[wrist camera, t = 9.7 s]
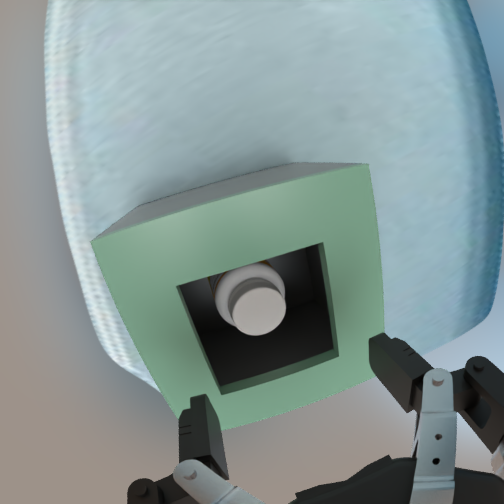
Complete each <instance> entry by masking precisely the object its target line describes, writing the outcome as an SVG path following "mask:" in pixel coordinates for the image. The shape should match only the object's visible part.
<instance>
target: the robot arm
mask: <svg viewBox="0 0 504 504" xmlns="http://www.w3.org/2000/svg"><path fill="white" fill-rule="evenodd" d="M368 343H369V364H370V367H371V369H372V371H373V373H374V374H375V375H376V376H377V377H378V379H379V380H380V381H381V382H382V384H383V385H384V386H385V387H386V388H387V390H388V391H389V392H390V393H391V394H392V396H393V397H394V398H395V399H396V401H398V403H399V404H400V405H401V407H402V408H403V409H404V410H405V411H406V413H408V412H410V411H412V410H415V411H416V412H417V415H416V422H415V431H414V438H413V445H412V450H411V455H410V457H404V458H396V459H391V457H390V456H389V455H387V456H385V457H383V458H381V459H379V460H377V461H375V462H373V463H371V464H369V465H367V466H366V467H364V468H363V469H362V470H360V471H359V472H357V473H356V474H355V475H353V476H352V477H351V478H349V479H348V480H345V481H341V482H336V483H330V484H324V485H318V486H315V487H313V488H310V489H307V490H304V491H301V492H298V493H295V495H296V497H297V499H295V500H293V501H292V502H290V503H289V504H504V373H503V372H502V371H501V370H499V369H498V368H497V367H496V366H495V365H494V364H493V363H491V361H489V360H488V359H487V358H485V357H482V356H475V357H472V358H470V359H469V360H468V361H467V363H466V366H465V368H463V369H459V370H457V371H453V372H448V371H447V370H445V369H441V368H436V369H434V368H433V367H432V366H431V365H430V364H429V363H428V362H426V360H424V359H423V358H422V357H421V356H420V355H419V354H418V353H416V352H415V350H414V349H412V348H411V347H410V346H409V345H408V344H407V343H406V342H405V341H403V340H400V339H398V338H393V339H390V338H389V337H388V336H387V335H386V334H385V333H383V332H382V333H380V334H378V335H375V336H373V337H371V338H369V341H368ZM457 412H458V413H459V414H460V415H461V416H462V417H463V419H465V421H466V422H467V423H468V425H469V426H470V427H471V428H472V429H473V431H474V432H475V433H476V434H477V435H478V437H479V438H480V439H481V440H482V442H483V443H484V444H485V445H486V447H487V448H488V449H489V450H490V452H491V453H492V454H493V455H492V458H491V465H492V467H493V471H494V472H495V474H492V473H486V472H480V471H473V470H468V469H462V468H457V467H455V456H456V455H455V454H456V434H457V414H456V413H457ZM225 480H229V475H228V470H227V463H226V458H225V452H224V446H223V439H222V433H221V426H220V422H219V418H218V416H217V413H216V411H215V410H214V408H213V406H212V404H211V402H210V400H209V398H208V396H207V394H201V395H197V396H193V397H190V408H189V409H184V410H182V413H181V415H180V417H179V464H178V465H177V466H176V467H175V469H174V471H173V473H172V474H171V475H170V476H168V477H165V478H163V479H161V480H158V481H156V482H153V481H152V480H150V479H146V478H143V479H138V480H136V481H134V482H133V483H132V484H131V485H130V486H129V488H128V492H127V497H128V499H127V504H265V503H263V502H262V501H260V500H259V499H257V498H255V497H254V496H252V495H251V494H249V493H247V492H246V491H244V490H243V489H241V488H239V487H237V486H236V487H235V486H233V485H231V484H230V483H228V482H227V481H225Z"/></svg>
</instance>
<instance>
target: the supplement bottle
mask: <svg viewBox="0 0 504 504" xmlns="http://www.w3.org/2000/svg"><path fill="white" fill-rule="evenodd" d="M207 278H208V282H209V285H210V288H211V291H212V294H213V298H214V301H215V304H216V307H217V310H218V312H219V314H220V315H221V316H222V318H223V319H224V320H225V321H227V322H228V323H230V324H232V325H234V326H236V327H237V328H238V329H239V330H240V331H241V332H243V333H245V334H248V335H262V334H266V333H268V332H270V331H272V330H273V329H275V328H276V327H277V326H278V325H279V324H280V323H281V321H282V320H283V318H284V316H285V312H286V303H285V300H284V298H285V287H284V283H283V280H282V278H281V277H280V275H279V274H278V273H277V271H276V270H275V269H274V268H273V267H272V266H271V265H270V263H269V262H268V261H267V260H266V259H265V260H262V261H259V262H255V263H252V264H249V265H245V266H242V267H239V268H235V269H232V270H229V271H225V272H222V273H219V274H215V275H212V276H208V277H207Z"/></svg>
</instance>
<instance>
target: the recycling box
mask: <svg viewBox="0 0 504 504" xmlns="http://www.w3.org/2000/svg"><path fill="white" fill-rule="evenodd" d="M91 245H92V248H93V250H94V253H95V256H96V258H97V261H98V264H99V266H100V269H101V271H102V274H103V276H104V279H105V281H106V284H107V286H108V288H109V291H110V293H111V295H112V298H113V300H114V302H115V304H116V307H117V309H118V311H119V313H120V315H121V317H122V320H123V322H124V324H125V326H126V328H127V330H128V332H129V334H130V336H131V338H132V340H133V342H134V344H135V346H136V348H137V350H138V352H139V354H140V356H141V358H142V359H143V361H144V363H145V365H146V367H147V369H148V370H149V372H150V374H151V376H152V378H153V379H154V381H155V383H156V385H157V386H158V388H159V390H160V391H161V393H162V395H163V396H164V398H165V400H166V401H167V403H168V405H169V406H170V408H171V409H172V411H173V413H174V414H175V416H176V417H177V419H178V420H179V417H180V415H181V413H182V410H184V409H189V408H190V397H193V396H197V395H201V394H207V396H208V398H209V400H210V402H211V404H212V406H213V408H214V410H215V411H216V413H217V416H218V418H219V422H220V426H221V431H222V430H226V429H230V428H234V427H238V426H241V425H246V424H249V423H253V422H256V421H260V420H263V419H266V418H270V417H273V416H276V415H279V414H282V413H285V412H288V411H291V410H294V409H297V408H300V407H302V406H305V405H308V404H311V403H314V402H316V401H319V400H322V399H324V398H327V397H329V396H332V395H334V394H337V393H339V392H341V391H344V390H346V389H349V388H351V387H353V386H356V385H358V384H360V383H362V382H364V381H367V380H369V379H371V378H373V377H375V376H376V375H375V374H374V373H373V371H372V369H371V367H370V364H369V343H368V341H369V338H371V337H373V336H375V335H378V334H380V333H382V332H383V333H384V299H383V280H382V266H381V254H380V243H379V234H378V225H377V217H376V209H375V202H374V195H373V189H372V183H371V177H370V171H369V165H368V164H362V163H290V164H285V165H281V166H277V167H273V168H269V169H264V170H260V171H256V172H253V173H249V174H245V175H241V176H237V177H233V178H230V179H226V180H222V181H219V182H215V183H212V184H208V185H205V186H201V187H198V188H194V189H191V190H188V191H184V192H181V193H178V194H174V195H171V196H168V197H165V198H162V199H159V200H155V201H152V202H149V203H146V204H143V205H140V206H137V207H136V208H135V209H133V210H132V211H130V212H129V213H128V214H126V215H125V216H123V217H122V218H121V219H119V220H118V221H117V222H115V223H114V224H113V225H111V226H110V227H109V228H107V229H106V230H105V231H103V232H102V233H101V234H99V235H98V236H97V237H96V238H94V239H93V240H92V241H91ZM265 259H266V260H267V261H268V262H269V263H270V265H271V266H272V267H273V268H274V269H275V270H276V271H277V273H278V274H279V275H280V277H281V278H282V280H283V283H284V287H285V298H284V300H285V303H286V312H285V316H284V318H283V320H282V321H281V323H280V324H279V325H278V326H277V327H276V328H275V329H273V330H272V331H270V332H268V333H266V334H262V335H248V334H245V333H243V332H241V331H240V330H239V329H238V328H237V327H236V326H234V325H232V324H230V323H228V322H227V321H225V320H224V319H223V318H222V316H221V315H220V314H219V312H218V310H217V307H216V304H215V301H214V298H213V294H212V291H211V288H210V285H209V282H208V278H207V277H208V276H212V275H215V274H219V273H222V272H225V271H229V270H232V269H235V268H239V267H242V266H245V265H249V264H252V263H255V262H259V261H262V260H265Z"/></svg>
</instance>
